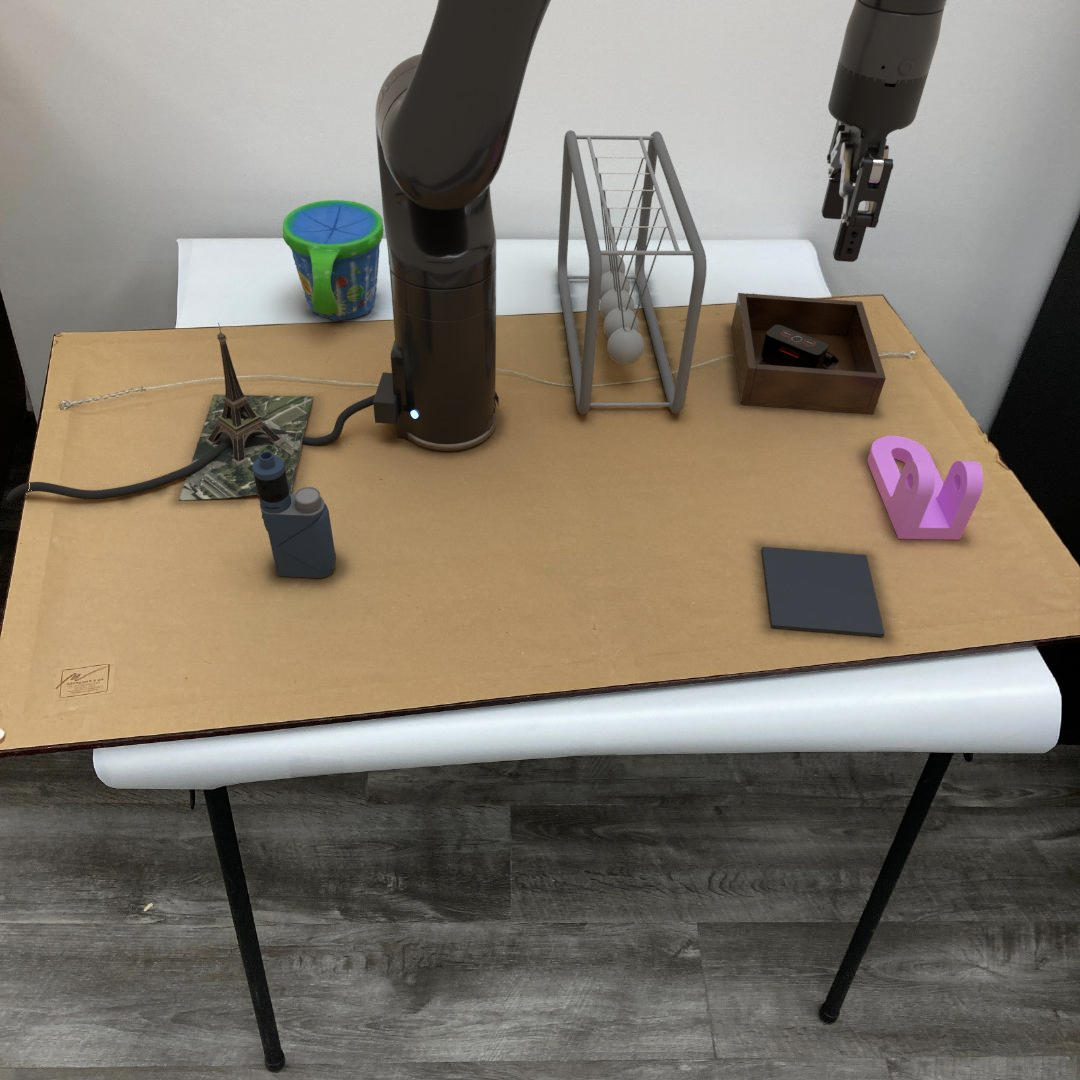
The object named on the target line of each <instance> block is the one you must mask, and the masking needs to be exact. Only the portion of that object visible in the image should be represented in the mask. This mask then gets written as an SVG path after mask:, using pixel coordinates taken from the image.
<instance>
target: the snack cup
mask: <svg viewBox="0 0 1080 1080" xmlns="http://www.w3.org/2000/svg"><path fill="white" fill-rule="evenodd" d="M383 237H384V219H383V218H382V216H381V214H380V213H379V212H378V211H377V210H375V209H374V208H372V207H370V206H368V205H367V204H364V203H360V202H357V201H351V200H345V199H326V200H318V201H313V202H310V203H307V204H303V205H301V206H298V207H297V208H294V209H293V210H292V211H290V212H289V213H288V214H287V215H286V216H285V218H284V219H283V222H282V238H283V240H284V242H285V244H286V245H287V246H288V247H289V249H290V250H291V253H292V259H293V261H294V265H295V268H296V272H297V274H298V275H297V276H298V278H299V281H300V283H301V287H302V290H303V293H304V297H305V300H306V302H307V304H308V307H309V309H310V312H312V313H315V314H317V315H319V316H321V317H323V318H325V319H329V320H333V321H336V322H337V321H341V320H352V319H355V318H359V317H360V316H362V315H367V314H368V313H369V312H371V309H372V308H373V307H374V305H375V302H376V297H377V295H376V294H377V284H378V277H379V263H380V252H381V251H380V245H381V242H382V239H383Z"/></svg>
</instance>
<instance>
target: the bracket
mask: <svg viewBox="0 0 1080 1080" xmlns="http://www.w3.org/2000/svg"><path fill="white" fill-rule="evenodd" d="M896 460H898V461H900V462H903V463H904V466H903V468H902V470H901V472H900V470H899V467H898V465H897V463H896ZM867 465H868V468H869V470H870V472H871V474H872V478H873V480H874V482H875V485H876V487H877V489H878V492H879V494H880V497H881V500H882V502H883V505H884V507H885V509H886V512H887V515H888V517H889V519H890V522H891V525H892V526H893V530H894V532H895V535H896V536H897V539H898V540H953V541H955V540H957V541H960V540H961V539H962V536H963V534H964V533H965V530H966V527H967V526H968V524H969V522H970V520H971V517H972V515H973V513H974V511H975V509H976V507H977V505H978V503H979V501H980V498H981V496H982V493H983V490H984V472H983V469H982V467H981V464H980V463H979V462H978V461H976V460H955V461H954V462H953V463H952V464H951V466H950V468H949V470H948V473H947V475H946V477H945V480H943V479H942V476H941V475H940V472H939V470H938V469H937V466H936V464H935V462H934V459H933V458H932V455H931V454H930V452H929V451H928V450H927V449H926V448H925V446H924V445H922V444H921V443H919V442H918V441H916V440H914V439H911V438H908V437H904V436H900V435H885V436H882V437H879V438H877V439H876V440H875V441H874V442H872V445H871V447H870V450H869V453H868V456H867Z"/></svg>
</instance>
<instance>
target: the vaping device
mask: <svg viewBox="0 0 1080 1080" xmlns="http://www.w3.org/2000/svg"><path fill="white" fill-rule="evenodd" d="M252 468H253V473H254V477H255V482H256V487H257V491H258V494H257V496H258V500H259V508H260V513H261V520H262V521H263V526H264V527H265V530H266V532H267V534H268V539H269V544H270V549H271V553H272V556H273V562H274V566H275V571H276V575H278V576H280V577H287V578H289V577H292V578H313V579H316V578H317V579H321V578H322V579H323V578H327V577H328V576H330V575H331V574H332V573H333V571H334V569H335V566H336V564H337V554H336V548H335V542H334V536H333V530H332V523H331V516H330V510H329V507H328V505H327V504H326V503H325V500H324V498H323V497H322V495H321V492H320V490H318V489H317V488H316V487H314V486H313V487H312V486H305V487H302V488H299V489H298V490H297V491H295V493H290V492H289V487H288V482H287V476H286V471H285V466H284V462H283V460H282V459H281V458H280V457H277V456H274V455H273V453H272V452H270V451H264V452H262V453H260V455H259V458H258V459H257V460H256V461H255V462H254V463H253V466H252Z"/></svg>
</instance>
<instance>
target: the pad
mask: <svg viewBox="0 0 1080 1080" xmlns="http://www.w3.org/2000/svg"><path fill="white" fill-rule="evenodd" d="M761 557H762V564H763V573H764V580H765V588H766V589H765V591H766V597H767V606H768V613H769V620H770V621H769V622H770V628H771V629H780V630H791V631H804V632H805V631H806V632H816V633H828V634H829V633H830V634H842V635H853V636H855V635H856V636H866V637H878V638H879V637H880V638H884V637H885V635H886V634H885V629H884V626H883V622H882V621H883V620H882V616H881V612H880V608H879V603H878V600H877V594H876V591H875V587H874V583H873V578H872V573H871V569H870V564H869V561H868V556H867V554H862V553H861V554H859V553H849V552H848V553H847V552H834V551H822V550H821V551H820V550H810V549H797V548H783V547H770V546H762V547H761Z"/></svg>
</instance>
